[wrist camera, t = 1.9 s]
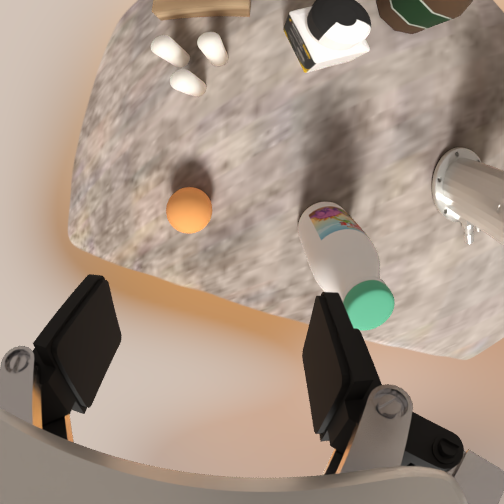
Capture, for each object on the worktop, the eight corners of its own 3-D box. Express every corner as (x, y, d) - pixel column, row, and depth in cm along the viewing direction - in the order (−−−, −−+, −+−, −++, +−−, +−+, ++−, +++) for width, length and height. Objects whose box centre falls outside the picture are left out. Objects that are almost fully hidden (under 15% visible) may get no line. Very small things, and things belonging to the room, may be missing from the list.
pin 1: (193, 61, 30) (176, 46, 22) (177, 70, 30) (156, 58, 23) (185, 48, 29) (167, 31, 21) (169, 57, 29) (147, 42, 22)
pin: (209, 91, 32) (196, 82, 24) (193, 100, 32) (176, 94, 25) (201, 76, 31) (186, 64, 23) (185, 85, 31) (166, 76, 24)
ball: (222, 212, 39) (217, 228, 34) (186, 230, 40) (176, 248, 35) (201, 175, 37) (192, 184, 31) (165, 195, 38) (151, 208, 33)
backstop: (249, 16, 27) (249, 5, 23) (161, 20, 27) (151, 11, 23) (250, 5, 26) (250, -7, 22) (162, 9, 26) (153, -1, 22)
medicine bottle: (282, 29, 28) (293, -7, 17) (330, 17, 26) (359, -17, 16) (304, 74, 31) (326, 54, 20) (352, 61, 29) (390, 41, 19)
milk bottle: (332, 257, 42) (377, 351, 24) (287, 238, 41) (311, 333, 23) (357, 213, 39) (426, 289, 21) (312, 191, 38) (362, 258, 20)
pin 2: (231, 61, 30) (224, 44, 22) (214, 69, 30) (203, 55, 23) (223, 47, 29) (214, 28, 21) (206, 55, 29) (193, 38, 22)
